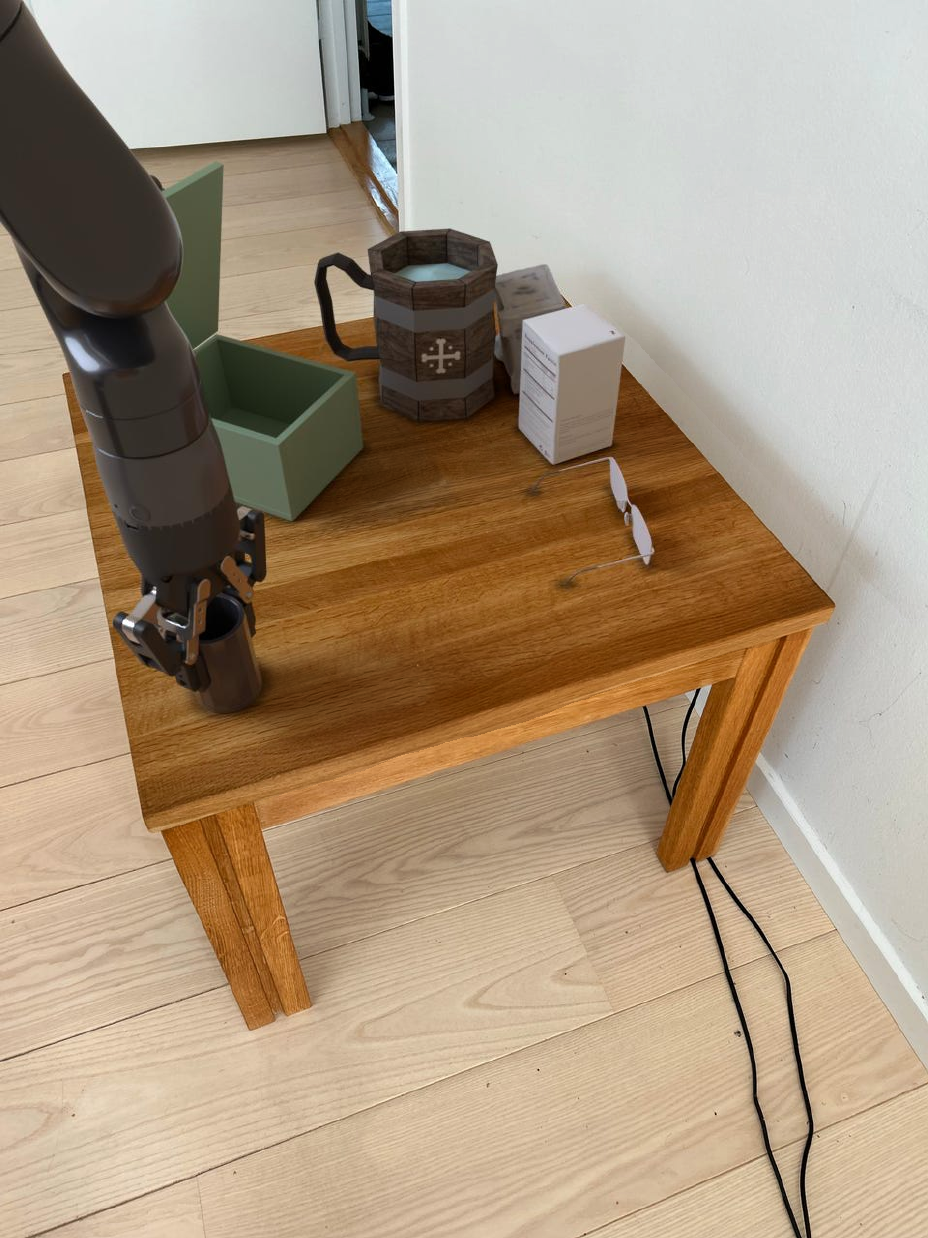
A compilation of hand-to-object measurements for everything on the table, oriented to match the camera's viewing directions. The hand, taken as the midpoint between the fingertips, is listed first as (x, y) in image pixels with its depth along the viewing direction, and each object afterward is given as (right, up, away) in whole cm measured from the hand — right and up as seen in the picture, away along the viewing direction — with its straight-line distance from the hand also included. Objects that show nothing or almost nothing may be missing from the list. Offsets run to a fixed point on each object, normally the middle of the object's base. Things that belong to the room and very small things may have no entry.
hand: (220, 659), depth 71 cm
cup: (0, -2, +3) cm, 3 cm away
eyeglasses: (+30, +11, +15) cm, 36 cm away
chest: (-2, +19, +23) cm, 30 cm away
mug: (+13, +29, +33) cm, 46 cm away
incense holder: (+26, +31, +34) cm, 53 cm away
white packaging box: (+29, +22, +26) cm, 44 cm away
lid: (-7, +33, +12) cm, 36 cm away
